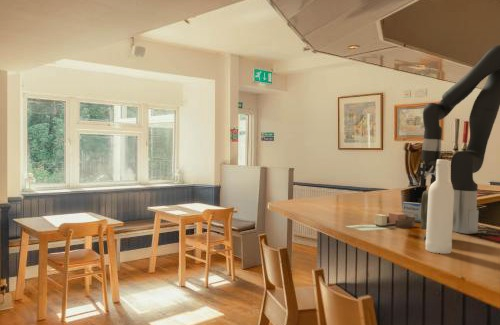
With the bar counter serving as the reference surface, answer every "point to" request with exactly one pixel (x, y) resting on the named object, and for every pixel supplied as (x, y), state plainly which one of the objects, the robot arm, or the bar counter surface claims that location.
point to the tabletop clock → (424, 211)
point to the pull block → (382, 219)
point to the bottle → (440, 211)
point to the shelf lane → (398, 224)
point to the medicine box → (412, 210)
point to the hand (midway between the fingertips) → (427, 186)
